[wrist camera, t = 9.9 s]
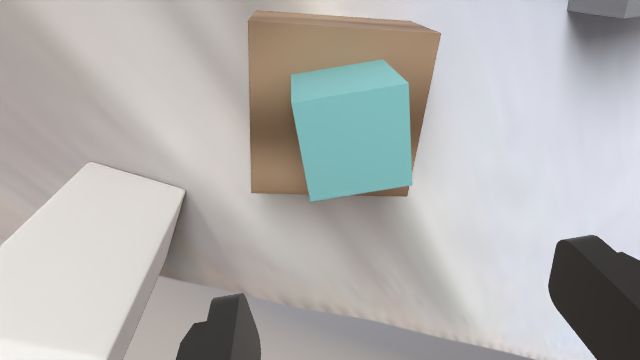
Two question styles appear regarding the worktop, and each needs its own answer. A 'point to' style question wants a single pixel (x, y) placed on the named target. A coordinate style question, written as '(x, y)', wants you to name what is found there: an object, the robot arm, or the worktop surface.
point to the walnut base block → (316, 54)
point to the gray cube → (606, 7)
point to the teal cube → (353, 129)
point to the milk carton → (85, 266)
